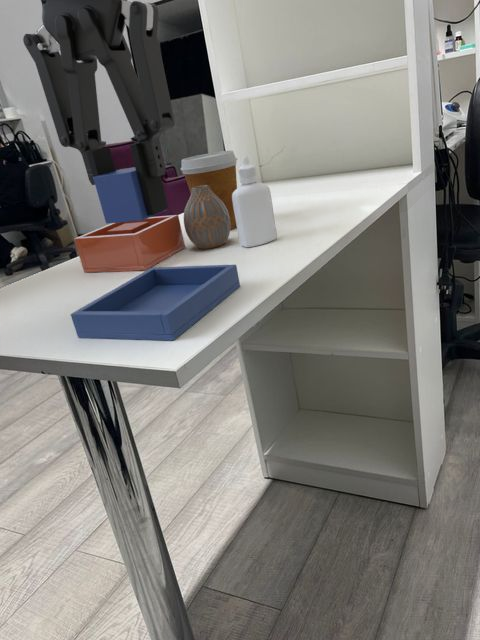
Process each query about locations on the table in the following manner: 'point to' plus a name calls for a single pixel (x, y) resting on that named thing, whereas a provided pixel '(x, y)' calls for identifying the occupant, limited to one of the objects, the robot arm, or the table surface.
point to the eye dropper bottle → (253, 208)
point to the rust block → (129, 228)
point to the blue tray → (157, 303)
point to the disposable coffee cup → (214, 176)
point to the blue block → (121, 196)
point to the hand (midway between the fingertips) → (136, 213)
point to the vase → (206, 218)
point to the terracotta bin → (130, 246)
